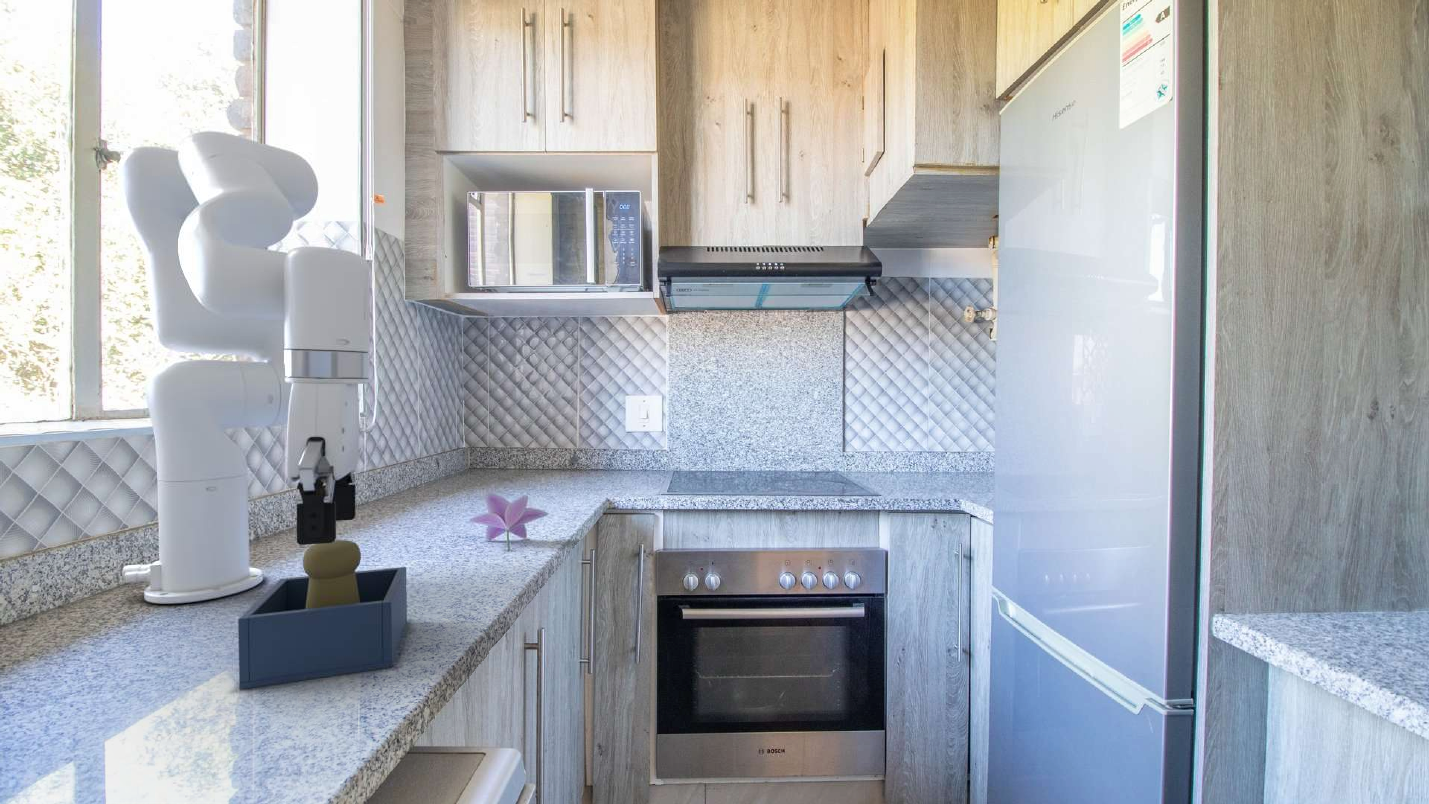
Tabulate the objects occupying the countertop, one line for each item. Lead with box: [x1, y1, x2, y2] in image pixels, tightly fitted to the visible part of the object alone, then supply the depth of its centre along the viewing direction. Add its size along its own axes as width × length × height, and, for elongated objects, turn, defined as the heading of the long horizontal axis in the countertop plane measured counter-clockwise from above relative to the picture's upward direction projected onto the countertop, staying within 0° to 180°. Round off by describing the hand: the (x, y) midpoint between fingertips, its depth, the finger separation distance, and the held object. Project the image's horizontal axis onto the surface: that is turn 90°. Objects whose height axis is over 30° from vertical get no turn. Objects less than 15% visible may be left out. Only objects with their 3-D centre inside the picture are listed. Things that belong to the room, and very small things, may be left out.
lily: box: [469, 491, 549, 551], centre depth 107 cm, size 12×12×10 cm
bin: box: [237, 566, 408, 690], centre depth 64 cm, size 13×13×7 cm
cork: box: [302, 539, 362, 609], centre depth 64 cm, size 6×6×11 cm
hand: (328, 530), depth 64 cm, fingers open, 9 cm apart
